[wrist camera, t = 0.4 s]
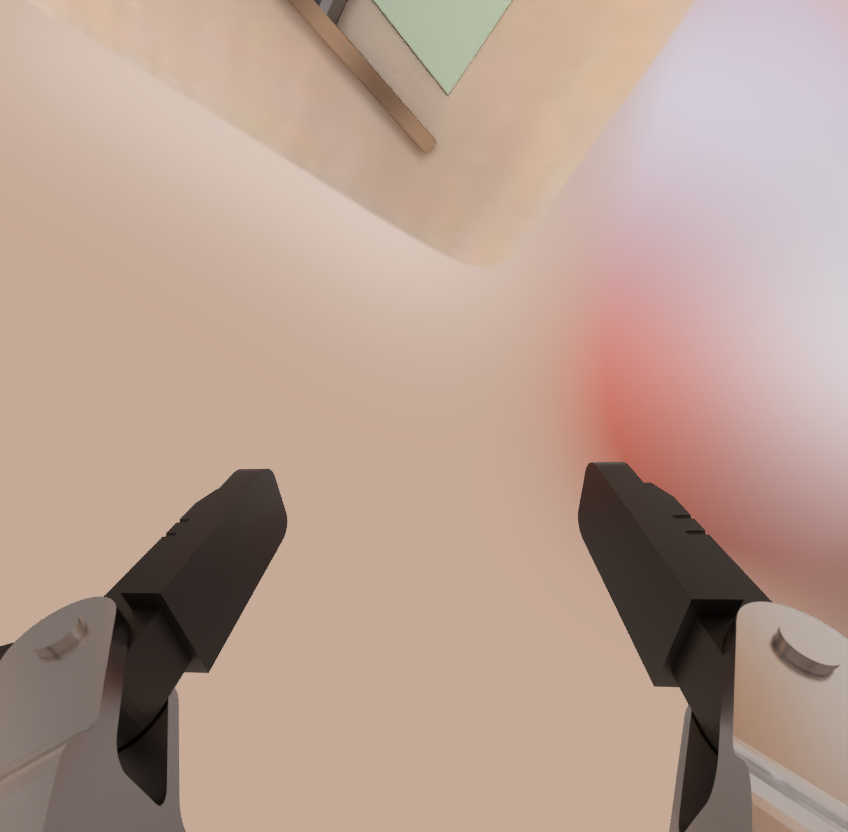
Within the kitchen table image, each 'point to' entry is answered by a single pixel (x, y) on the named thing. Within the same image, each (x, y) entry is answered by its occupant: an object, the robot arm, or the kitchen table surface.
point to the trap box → (332, 8)
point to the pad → (444, 31)
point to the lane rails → (364, 71)
